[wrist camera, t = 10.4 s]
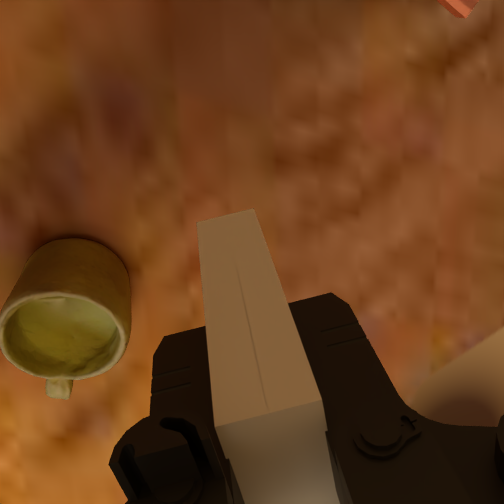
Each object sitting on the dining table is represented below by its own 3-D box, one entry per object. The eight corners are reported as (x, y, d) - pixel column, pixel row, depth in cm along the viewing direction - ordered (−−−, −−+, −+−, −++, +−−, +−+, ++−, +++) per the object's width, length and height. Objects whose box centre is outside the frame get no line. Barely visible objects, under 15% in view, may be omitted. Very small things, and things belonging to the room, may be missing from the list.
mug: (13, 206, 36) (13, 311, 30) (142, 230, 42) (165, 321, 36) (-19, 310, 43) (-25, 413, 36) (96, 318, 48) (109, 408, 42)
